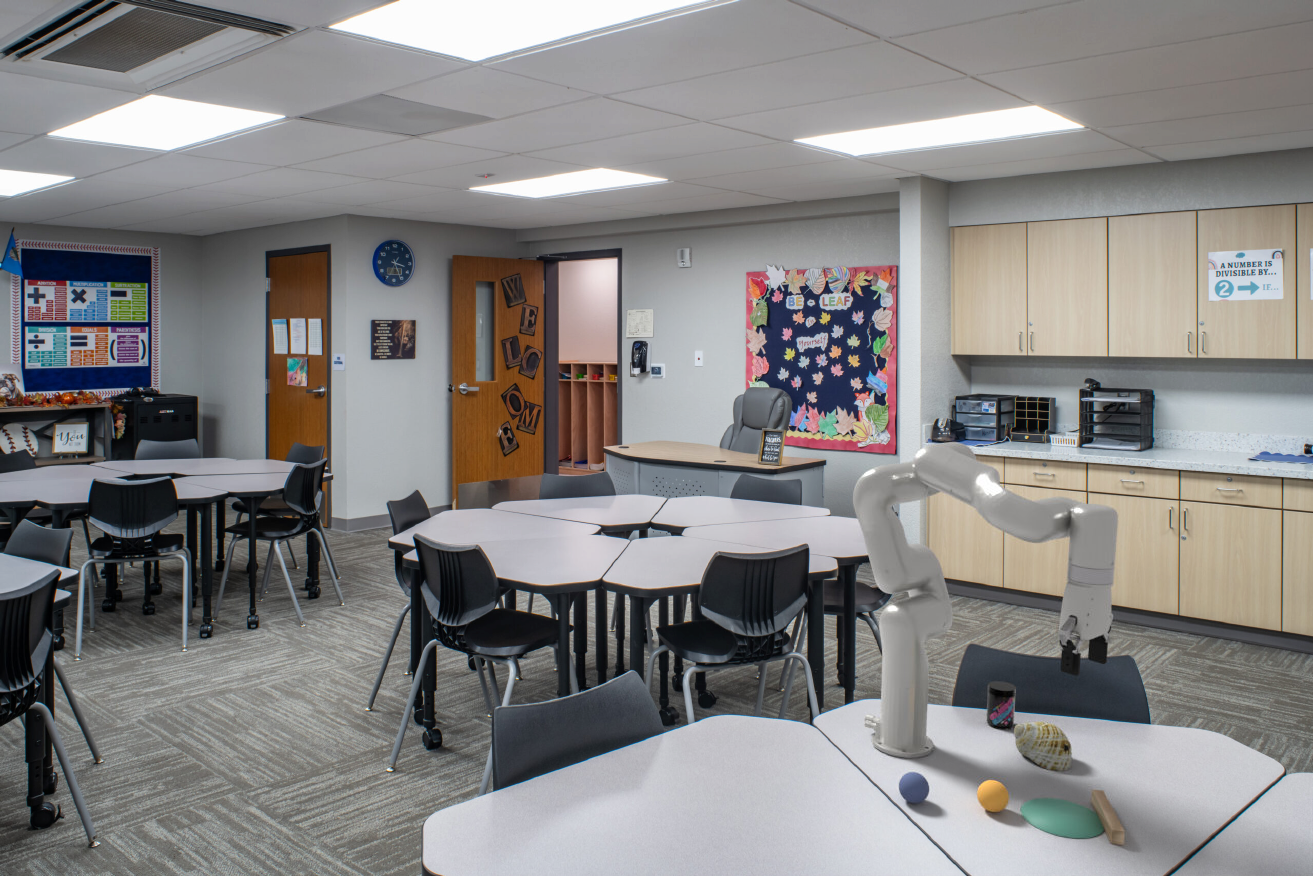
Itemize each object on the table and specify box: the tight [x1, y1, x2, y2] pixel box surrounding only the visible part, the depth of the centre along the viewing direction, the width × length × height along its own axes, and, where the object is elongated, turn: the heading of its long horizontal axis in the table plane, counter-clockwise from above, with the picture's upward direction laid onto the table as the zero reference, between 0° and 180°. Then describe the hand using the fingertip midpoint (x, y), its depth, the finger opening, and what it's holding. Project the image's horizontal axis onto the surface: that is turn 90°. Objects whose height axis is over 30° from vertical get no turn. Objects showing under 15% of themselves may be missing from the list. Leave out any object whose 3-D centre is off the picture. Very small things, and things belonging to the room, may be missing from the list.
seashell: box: [1013, 721, 1073, 772], centre depth 195 cm, size 11×10×10 cm
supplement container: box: [986, 680, 1017, 730], centre depth 212 cm, size 6×6×9 cm
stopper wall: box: [1090, 789, 1126, 846], centre depth 169 cm, size 2×15×2 cm, turn 168°
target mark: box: [1020, 797, 1105, 839], centre depth 171 cm, size 14×14×1 cm
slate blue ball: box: [898, 771, 930, 804], centre depth 176 cm, size 6×6×6 cm
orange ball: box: [976, 779, 1010, 813], centre depth 173 cm, size 6×6×6 cm
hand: (1083, 667), depth 170 cm, fingers open, 9 cm apart
